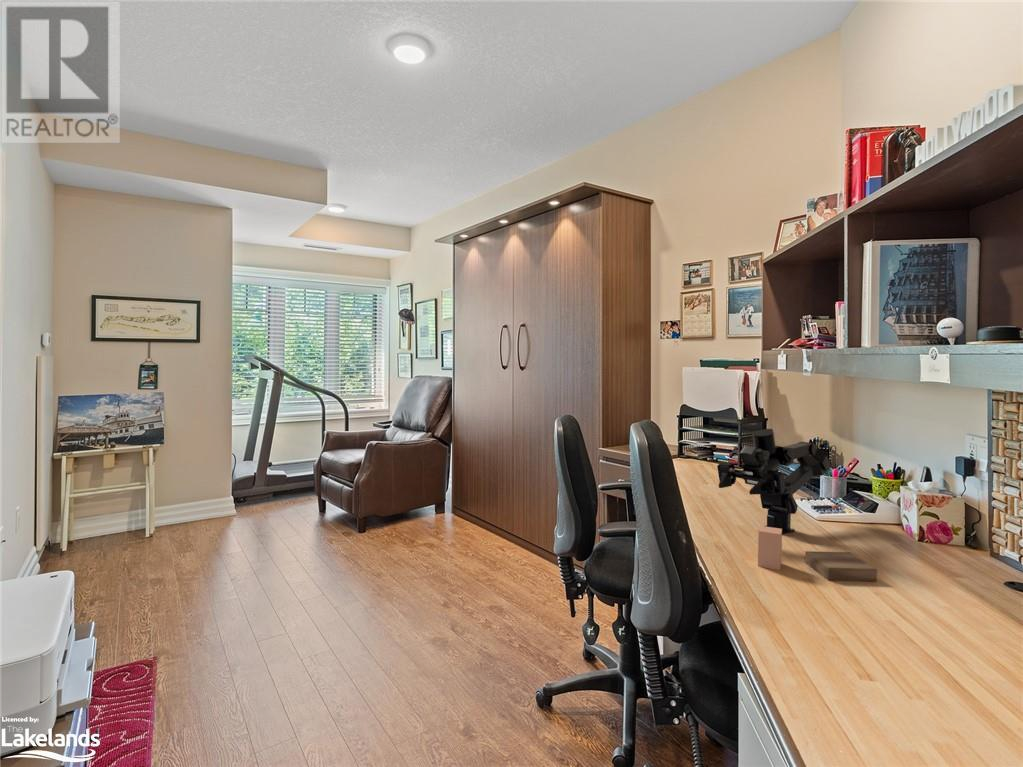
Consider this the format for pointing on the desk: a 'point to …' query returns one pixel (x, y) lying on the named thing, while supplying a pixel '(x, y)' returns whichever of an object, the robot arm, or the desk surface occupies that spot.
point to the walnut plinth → (840, 566)
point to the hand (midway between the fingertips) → (734, 489)
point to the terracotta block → (769, 547)
